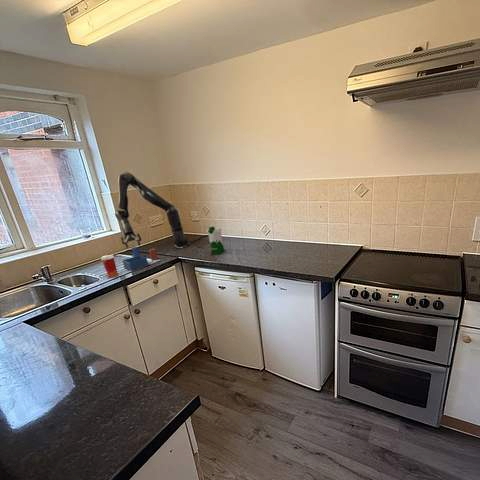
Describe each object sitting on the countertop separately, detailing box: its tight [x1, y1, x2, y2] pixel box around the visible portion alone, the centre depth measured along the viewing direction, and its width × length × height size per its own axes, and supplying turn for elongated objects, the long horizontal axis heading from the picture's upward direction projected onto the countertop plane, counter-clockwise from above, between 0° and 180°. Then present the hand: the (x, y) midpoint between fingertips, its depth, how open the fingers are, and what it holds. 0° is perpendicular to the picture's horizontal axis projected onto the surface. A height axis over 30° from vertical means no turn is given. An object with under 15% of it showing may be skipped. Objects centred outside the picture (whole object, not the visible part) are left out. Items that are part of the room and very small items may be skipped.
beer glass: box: [100, 254, 119, 278], centre depth 197 cm, size 8×8×14 cm
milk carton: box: [206, 226, 226, 255], centre depth 220 cm, size 9×9×20 cm
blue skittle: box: [131, 246, 141, 257], centre depth 236 cm, size 4×4×8 cm
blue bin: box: [122, 255, 149, 271], centre depth 213 cm, size 12×12×6 cm
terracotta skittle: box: [149, 248, 158, 261], centre depth 224 cm, size 4×4×8 cm
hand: (133, 246), depth 237 cm, fingers open, 8 cm apart
